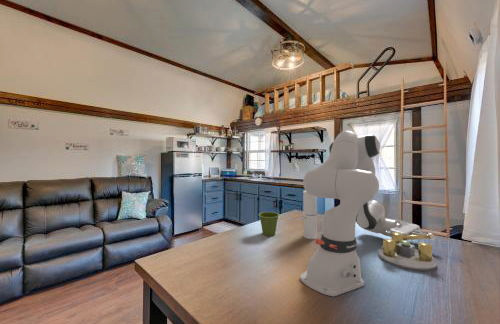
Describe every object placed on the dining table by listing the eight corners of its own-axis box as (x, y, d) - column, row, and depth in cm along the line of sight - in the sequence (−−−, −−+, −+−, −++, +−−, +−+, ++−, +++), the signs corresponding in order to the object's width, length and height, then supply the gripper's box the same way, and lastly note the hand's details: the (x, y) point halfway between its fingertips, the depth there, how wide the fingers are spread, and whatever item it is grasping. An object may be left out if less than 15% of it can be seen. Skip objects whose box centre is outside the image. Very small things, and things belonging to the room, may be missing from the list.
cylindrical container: (313, 240, 118) (313, 192, 117) (301, 237, 122) (301, 191, 122) (318, 236, 123) (318, 191, 123) (306, 233, 128) (306, 190, 127)
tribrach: (426, 276, 81) (426, 254, 81) (369, 257, 97) (369, 238, 97) (442, 261, 93) (442, 241, 93) (389, 246, 109) (389, 229, 109)
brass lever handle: (396, 249, 99) (396, 235, 99) (389, 245, 104) (389, 232, 104) (438, 247, 101) (438, 234, 101) (429, 243, 105) (429, 231, 105)
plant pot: (255, 232, 130) (254, 213, 130) (272, 229, 135) (272, 211, 135) (264, 239, 119) (264, 218, 119) (283, 235, 124) (283, 215, 124)
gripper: (383, 226, 109) (417, 233, 98) (400, 219, 122) (432, 225, 111) (383, 238, 110) (417, 247, 99) (400, 230, 122) (431, 237, 111)
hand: (425, 235), depth 105 cm, fingers closed
